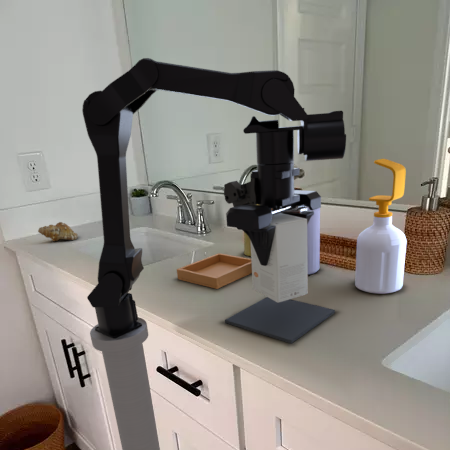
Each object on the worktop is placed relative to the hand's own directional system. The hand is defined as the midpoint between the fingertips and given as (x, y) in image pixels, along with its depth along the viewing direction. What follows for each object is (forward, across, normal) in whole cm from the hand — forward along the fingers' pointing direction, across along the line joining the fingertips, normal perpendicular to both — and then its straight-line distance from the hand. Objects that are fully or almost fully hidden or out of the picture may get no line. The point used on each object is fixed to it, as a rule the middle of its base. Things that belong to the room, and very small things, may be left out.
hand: (277, 259), depth 72 cm
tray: (+11, -12, -26) cm, 30 cm away
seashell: (+12, -11, -99) cm, 100 cm away
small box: (+6, 0, 0) cm, 6 cm away
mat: (+11, 0, 0) cm, 11 cm away
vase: (+11, -30, -29) cm, 43 cm away
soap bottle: (+11, -23, +8) cm, 27 cm away
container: (+11, -24, -12) cm, 29 cm away
